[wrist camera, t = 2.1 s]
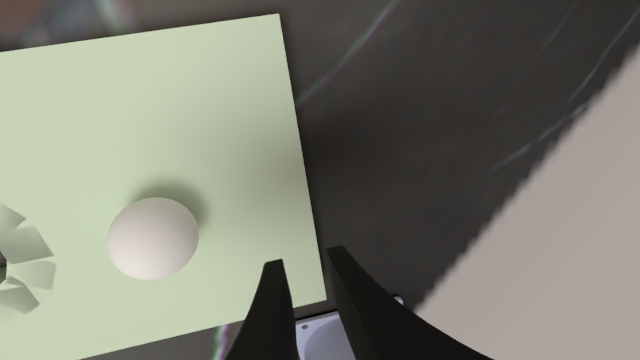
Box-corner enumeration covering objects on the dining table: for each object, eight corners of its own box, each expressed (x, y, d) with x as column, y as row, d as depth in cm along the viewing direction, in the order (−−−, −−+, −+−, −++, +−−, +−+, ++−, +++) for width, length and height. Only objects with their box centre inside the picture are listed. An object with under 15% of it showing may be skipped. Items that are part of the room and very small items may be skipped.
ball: (191, 177, 16) (173, 216, 13) (212, 238, 18) (202, 287, 15) (113, 192, 16) (71, 237, 12) (142, 252, 18) (113, 307, 14)
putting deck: (276, 16, 16) (279, 13, 14) (320, 275, 24) (326, 299, 22) (-261, 91, 14) (-362, 102, 11) (-15, 352, 22) (-46, 389, 19)
